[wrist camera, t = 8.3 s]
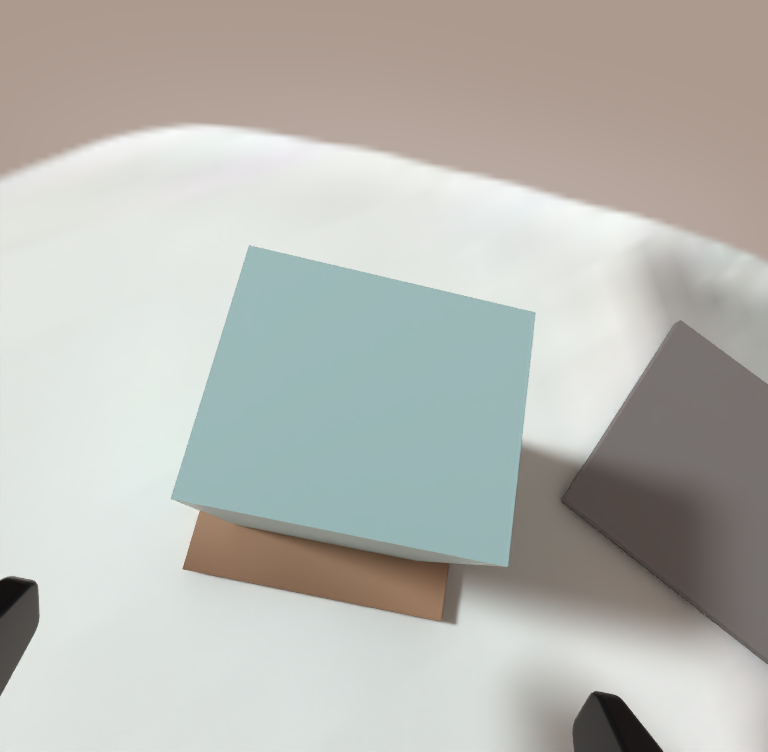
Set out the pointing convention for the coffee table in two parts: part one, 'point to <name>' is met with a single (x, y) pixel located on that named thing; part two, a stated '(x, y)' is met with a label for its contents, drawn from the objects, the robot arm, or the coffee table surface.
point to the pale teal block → (362, 413)
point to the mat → (690, 482)
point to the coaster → (317, 568)
